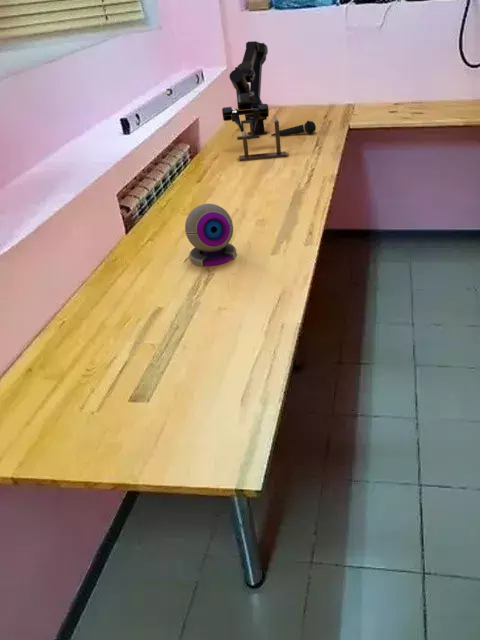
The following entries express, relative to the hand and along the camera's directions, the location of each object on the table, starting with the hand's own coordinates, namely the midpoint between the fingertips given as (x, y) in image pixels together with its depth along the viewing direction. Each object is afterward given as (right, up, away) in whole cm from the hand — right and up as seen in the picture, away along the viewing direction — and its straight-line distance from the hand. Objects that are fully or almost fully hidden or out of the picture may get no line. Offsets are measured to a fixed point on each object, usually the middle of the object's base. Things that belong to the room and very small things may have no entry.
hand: (247, 131), depth 251 cm
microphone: (+19, +7, +24) cm, 31 cm away
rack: (+6, -10, -1) cm, 12 cm away
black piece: (0, -2, +3) cm, 4 cm away
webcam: (-4, -63, -78) cm, 100 cm away
